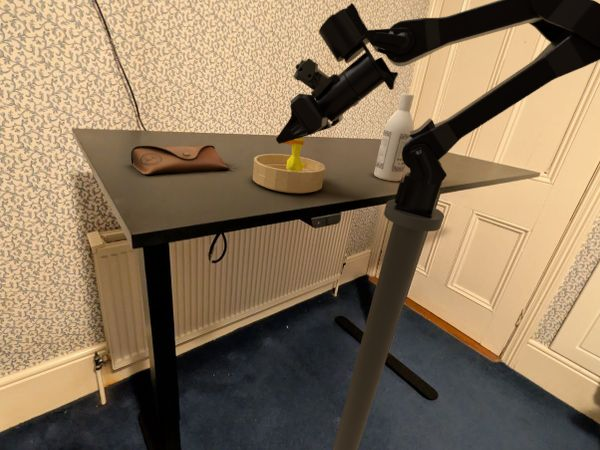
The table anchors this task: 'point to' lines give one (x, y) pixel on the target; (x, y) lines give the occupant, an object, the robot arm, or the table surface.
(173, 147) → the sunglasses case
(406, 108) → the bath foam
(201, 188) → the table surface
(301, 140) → the toy figure
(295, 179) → the bowl
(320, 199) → the table surface
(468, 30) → the robot arm
